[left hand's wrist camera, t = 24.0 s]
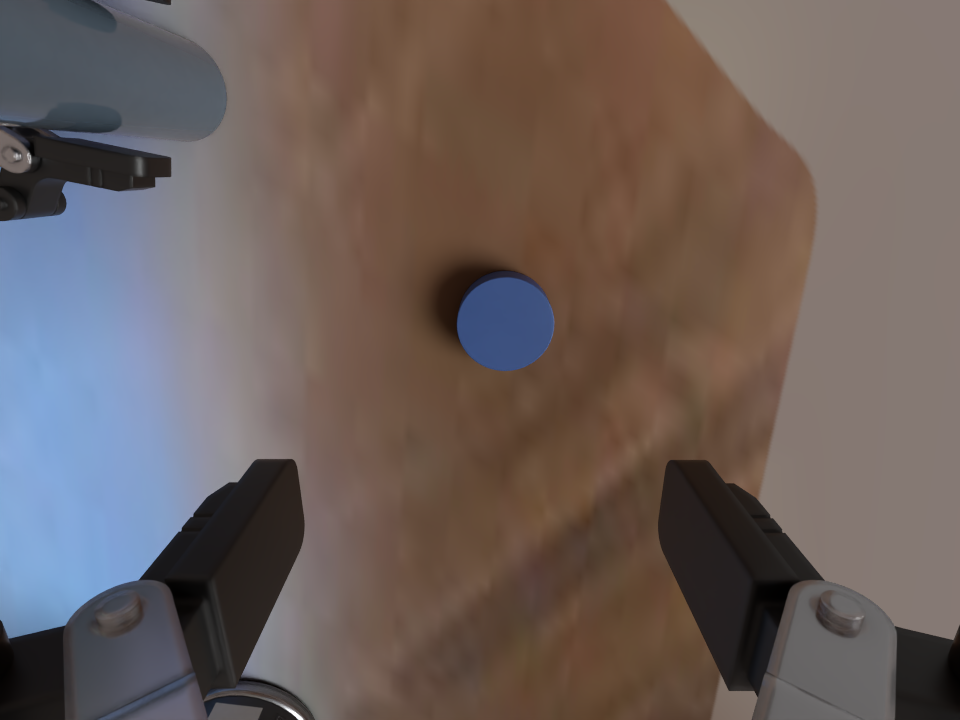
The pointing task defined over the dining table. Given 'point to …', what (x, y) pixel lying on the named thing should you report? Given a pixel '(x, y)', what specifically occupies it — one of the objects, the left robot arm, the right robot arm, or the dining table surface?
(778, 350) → the dining table surface
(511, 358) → the lid
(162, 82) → the jar
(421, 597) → the dining table surface
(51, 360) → the dining table surface
